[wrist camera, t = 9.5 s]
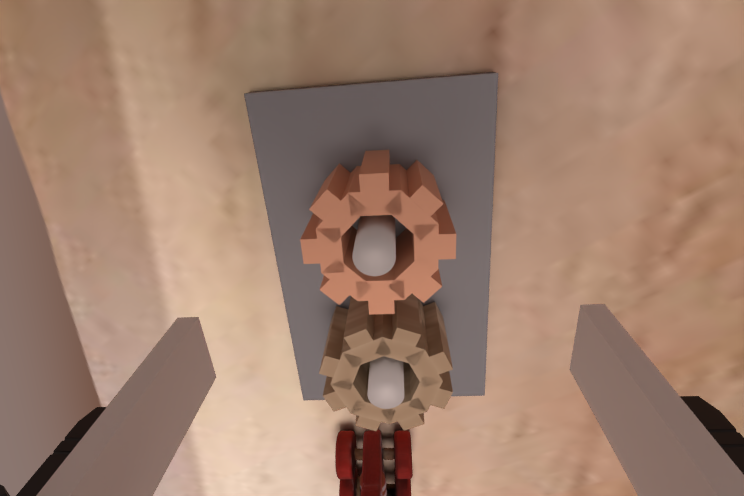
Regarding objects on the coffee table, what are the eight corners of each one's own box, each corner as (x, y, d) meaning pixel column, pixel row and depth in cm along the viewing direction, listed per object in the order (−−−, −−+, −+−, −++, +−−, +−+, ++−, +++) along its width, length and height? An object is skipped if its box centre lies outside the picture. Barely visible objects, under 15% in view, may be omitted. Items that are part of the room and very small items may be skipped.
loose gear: (310, 153, 28) (291, 177, 23) (445, 146, 28) (457, 169, 22) (324, 271, 32) (311, 315, 27) (443, 267, 32) (454, 312, 26)
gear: (310, 307, 33) (294, 357, 28) (414, 263, 31) (419, 307, 26) (363, 387, 36) (358, 445, 31) (460, 351, 34) (473, 407, 29)
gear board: (249, 92, 28) (194, 107, 20) (493, 72, 27) (535, 79, 19) (306, 390, 39) (284, 475, 31) (481, 385, 38) (505, 472, 30)
